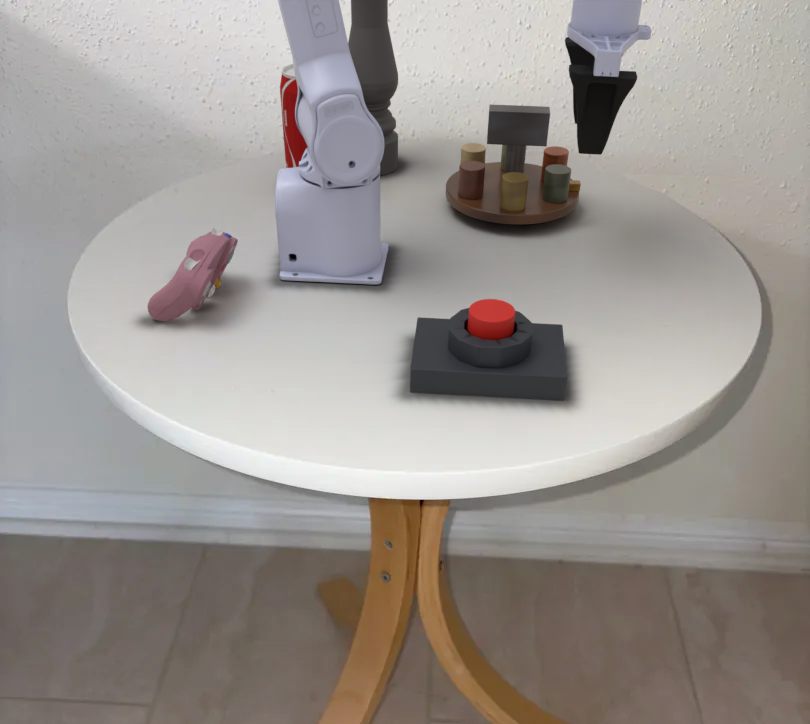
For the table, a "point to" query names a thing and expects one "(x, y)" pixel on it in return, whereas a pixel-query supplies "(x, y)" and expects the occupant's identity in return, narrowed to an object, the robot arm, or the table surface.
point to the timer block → (488, 360)
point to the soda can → (290, 118)
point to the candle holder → (376, 70)
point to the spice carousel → (514, 172)
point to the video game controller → (194, 276)
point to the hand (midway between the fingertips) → (587, 137)
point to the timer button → (491, 319)
